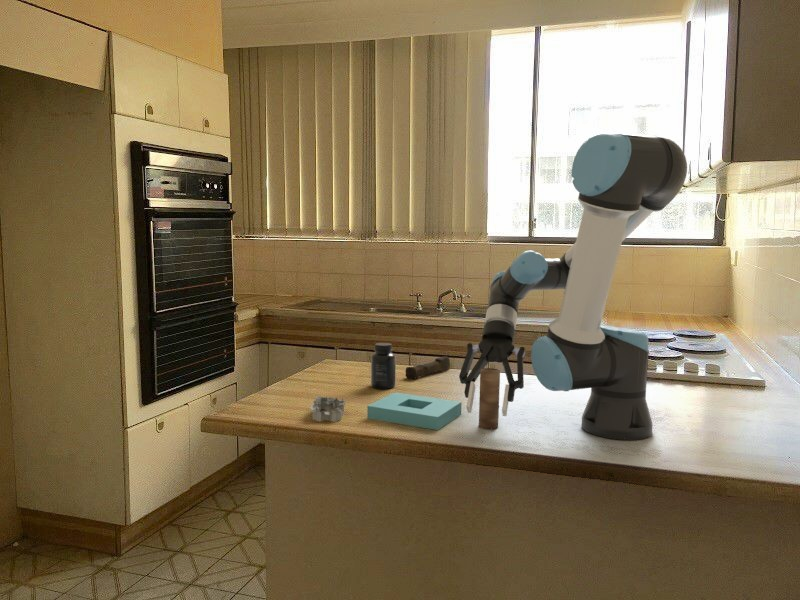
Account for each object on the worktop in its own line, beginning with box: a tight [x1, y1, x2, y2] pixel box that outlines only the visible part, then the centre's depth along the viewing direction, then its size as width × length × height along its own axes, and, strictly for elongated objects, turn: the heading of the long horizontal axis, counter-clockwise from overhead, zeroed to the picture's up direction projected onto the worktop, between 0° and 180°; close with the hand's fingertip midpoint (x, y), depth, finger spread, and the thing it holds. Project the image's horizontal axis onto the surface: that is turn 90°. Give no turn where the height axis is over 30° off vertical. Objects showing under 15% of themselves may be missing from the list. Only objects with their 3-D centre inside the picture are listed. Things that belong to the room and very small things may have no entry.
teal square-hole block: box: [366, 391, 463, 431], centre depth 158 cm, size 18×14×3 cm
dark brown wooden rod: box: [405, 355, 451, 380], centre depth 200 cm, size 19×4×5 cm, turn 135°
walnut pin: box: [478, 367, 501, 431], centre depth 150 cm, size 4×4×13 cm
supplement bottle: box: [370, 342, 397, 390], centre depth 185 cm, size 7×7×12 cm
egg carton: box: [309, 395, 346, 423], centre depth 158 cm, size 11×8×4 cm
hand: (486, 411), depth 147 cm, fingers open, 7 cm apart
